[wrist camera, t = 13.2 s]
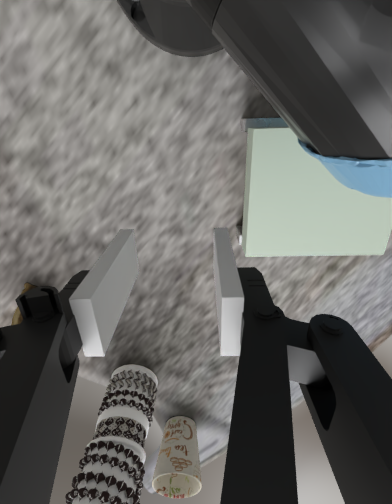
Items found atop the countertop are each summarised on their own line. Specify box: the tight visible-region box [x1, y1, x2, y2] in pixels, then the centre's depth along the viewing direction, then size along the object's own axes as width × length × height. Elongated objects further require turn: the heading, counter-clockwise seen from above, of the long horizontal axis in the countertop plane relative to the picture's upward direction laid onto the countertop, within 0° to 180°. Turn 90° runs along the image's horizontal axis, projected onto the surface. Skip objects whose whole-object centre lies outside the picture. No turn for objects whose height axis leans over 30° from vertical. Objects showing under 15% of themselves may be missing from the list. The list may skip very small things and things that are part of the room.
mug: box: [152, 416, 202, 498], centre depth 50 cm, size 8×13×10 cm, turn 164°
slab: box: [242, 127, 392, 257], centre depth 26 cm, size 12×14×3 cm
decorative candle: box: [66, 364, 158, 504], centre depth 37 cm, size 9×9×25 cm
